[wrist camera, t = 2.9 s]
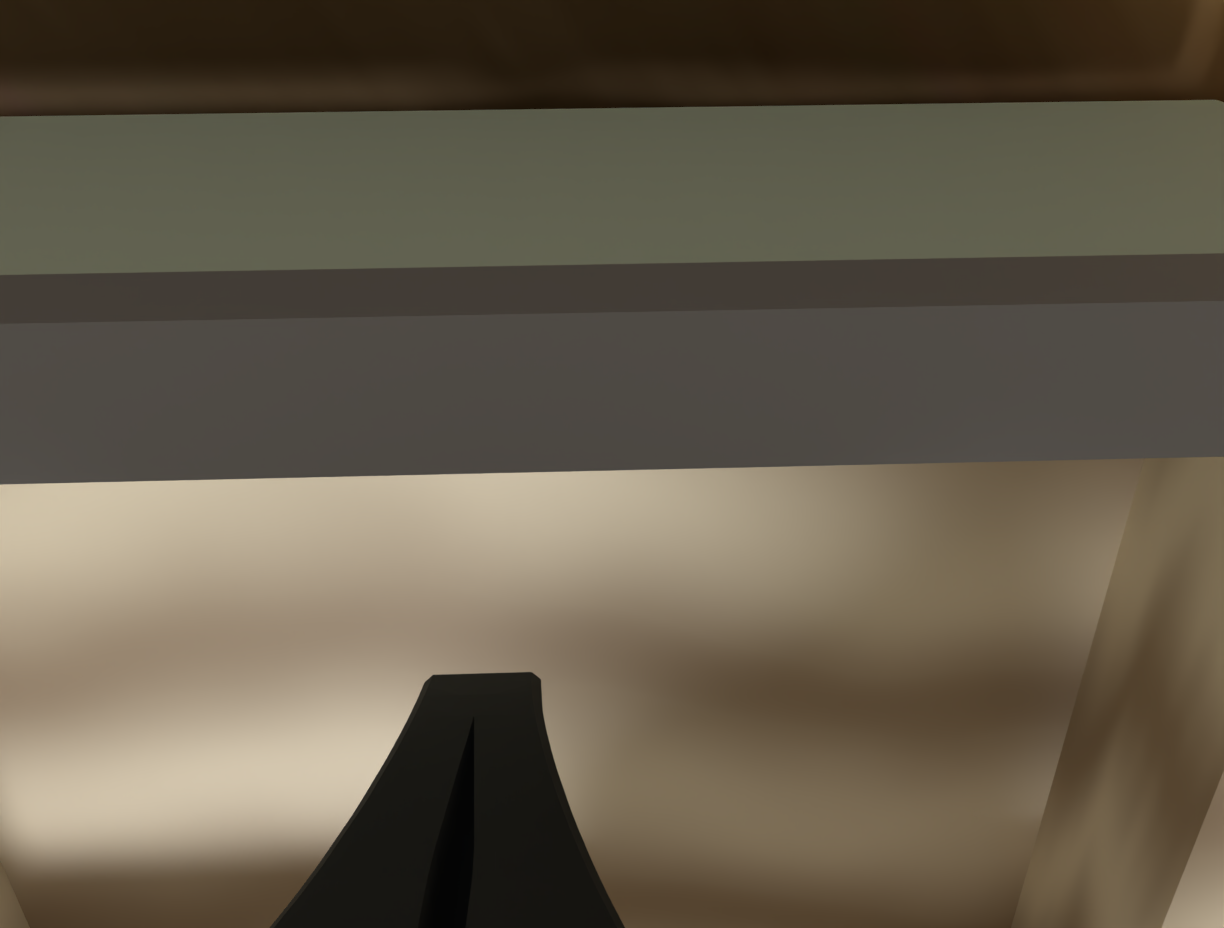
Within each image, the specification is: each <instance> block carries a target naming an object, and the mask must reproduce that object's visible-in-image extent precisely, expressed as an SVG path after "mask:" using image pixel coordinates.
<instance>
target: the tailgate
mask: <svg viewBox="0 0 1224 928" xmlns="http://www.w3.org/2000/svg"><path fill="white" fill-rule="evenodd" d="M1185 457H1224V102H1221V101H1219V100H1162V101H1090V102H1017V103H945V104H873V105H800V106H728V107H656V108H583V109H511V110H439V111H366V112H294V113H222V114H149V115H77V116H5V117H0V485H3V484H46V483H90V482H134V481H178V480H222V479H265V478H309V477H353V476H397V475H440V474H484V473H528V472H572V471H616V470H659V469H703V468H747V467H791V466H834V465H878V464H922V463H966V462H1010V461H1053V460H1097V459H1141V458H1185Z"/></svg>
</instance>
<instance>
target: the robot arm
mask: <svg viewBox="0 0 1224 928" xmlns="http://www.w3.org/2000/svg"><path fill="white" fill-rule="evenodd" d="M270 928H625V927H624V925H623V923H622V921H621V919H620V917H619V915H618V913H617V911H616V909H615V907H614V906H613V904H612V902H611V900H610V898H609V896H608V894H607V892H606V890H605V888H604V886H603V883H602V881H601V879H600V877H599V875H598V873H597V871H596V869H595V866H594V864H593V862H592V860H591V857H590V855H589V853H588V850H587V848H586V846H585V843H584V841H583V839H582V836H581V834H580V832H579V829H578V827H577V824H576V822H575V819H574V816H573V814H572V811H571V809H570V806H569V803H568V800H567V797H566V794H565V791H564V788H563V786H562V783H561V780H560V777H559V774H558V771H557V768H556V764H555V761H554V758H553V754H552V750H551V746H550V742H549V739H548V735H547V731H546V726H545V721H544V715H543V707H542V688H541V679H540V678H539V677H538V676H536V675H535V674H534V673H532V672H512V673H477V674H441V675H432V676H431V677H430V678H429V679H428V680H426V681H425V682H424V685H423V687H422V690H421V692H420V694H419V697H418V699H417V701H416V703H415V705H414V707H413V709H412V711H411V714H410V716H409V718H408V720H407V722H406V724H405V725H404V727H403V729H402V731H401V733H400V735H399V737H398V739H397V740H396V742H395V744H394V746H393V748H392V750H391V751H390V753H389V755H388V757H387V759H386V760H385V762H384V764H383V765H382V767H381V769H380V770H379V772H378V774H377V775H376V777H375V779H374V780H373V782H372V784H371V785H370V787H369V789H368V790H367V792H366V794H365V795H364V797H363V799H362V800H361V802H360V804H359V805H358V807H357V808H356V810H355V811H354V813H353V815H352V816H351V818H350V819H349V821H348V822H347V823H346V825H345V826H344V828H343V829H342V831H341V832H340V834H339V835H338V837H337V838H336V839H335V841H334V842H333V844H332V845H331V847H330V848H329V850H328V851H327V853H326V854H325V856H324V857H323V858H322V860H321V861H320V863H319V864H318V866H317V867H316V868H315V870H314V871H313V873H312V874H311V875H310V877H309V878H308V879H307V881H306V882H305V883H304V885H303V886H302V887H301V889H300V890H299V891H298V893H297V894H296V895H295V896H294V898H293V899H292V900H291V902H290V903H289V904H288V905H287V907H286V908H285V909H284V910H283V912H282V913H281V914H280V915H279V917H278V918H277V919H276V920H275V921H274V923H273V924H272V925H271V926H270Z"/></svg>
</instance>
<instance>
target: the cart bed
mask: <svg viewBox="0 0 1224 928" xmlns="http://www.w3.org/2000/svg"><path fill="white" fill-rule="evenodd" d="M512 672H532V673H534V674H535V675H536V676H538V677H539V678H540V679H541V688H542V707H543V715H544V721H545V726H546V731H547V735H548V739H549V742H550V746H551V750H552V754H553V758H554V761H555V764H556V768H557V771H558V774H559V777H560V780H561V783H562V786H563V788H564V791H565V794H566V797H567V800H568V803H569V806H570V809H571V811H572V814H573V816H574V819H575V822H576V824H577V827H578V829H579V832H580V834H581V836H582V839H583V841H584V843H585V846H586V848H587V850H588V853H589V855H590V857H591V860H592V862H593V864H594V866H595V869H596V871H597V873H598V875H599V877H600V879H601V881H602V883H603V886H604V888H605V890H606V892H607V894H608V896H609V898H610V900H611V902H612V904H613V906H614V907H615V909H616V911H617V913H618V915H619V917H620V919H621V921H622V923H623V925H624V927H625V928H1224V457H1185V458H1141V459H1097V460H1053V461H1010V462H966V463H922V464H878V465H834V466H791V467H747V468H703V469H659V470H616V471H572V472H528V473H484V474H440V475H397V476H353V477H309V478H265V479H222V480H178V481H134V482H90V483H46V484H3V485H0V928H270V926H271V925H272V924H273V923H274V921H275V920H276V919H277V918H278V917H279V915H280V914H281V913H282V912H283V910H284V909H285V908H286V907H287V905H288V904H289V903H290V902H291V900H292V899H293V898H294V896H295V895H296V894H297V893H298V891H299V890H300V889H301V887H302V886H303V885H304V883H305V882H306V881H307V879H308V878H309V877H310V875H311V874H312V873H313V871H314V870H315V868H316V867H317V866H318V864H319V863H320V861H321V860H322V858H323V857H324V856H325V854H326V853H327V851H328V850H329V848H330V847H331V845H332V844H333V842H334V841H335V839H336V838H337V837H338V835H339V834H340V832H341V831H342V829H343V828H344V826H345V825H346V823H347V822H348V821H349V819H350V818H351V816H352V815H353V813H354V811H355V810H356V808H357V807H358V805H359V804H360V802H361V800H362V799H363V797H364V795H365V794H366V792H367V790H368V789H369V787H370V785H371V784H372V782H373V780H374V779H375V777H376V775H377V774H378V772H379V770H380V769H381V767H382V765H383V764H384V762H385V760H386V759H387V757H388V755H389V753H390V751H391V750H392V748H393V746H394V744H395V742H396V740H397V739H398V737H399V735H400V733H401V731H402V729H403V727H404V725H405V724H406V722H407V720H408V718H409V716H410V714H411V711H412V709H413V707H414V705H415V703H416V701H417V699H418V697H419V694H420V692H421V690H422V687H423V685H424V682H425V681H426V680H428V679H429V678H430V677H431V676H432V675H441V674H477V673H512Z"/></svg>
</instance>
